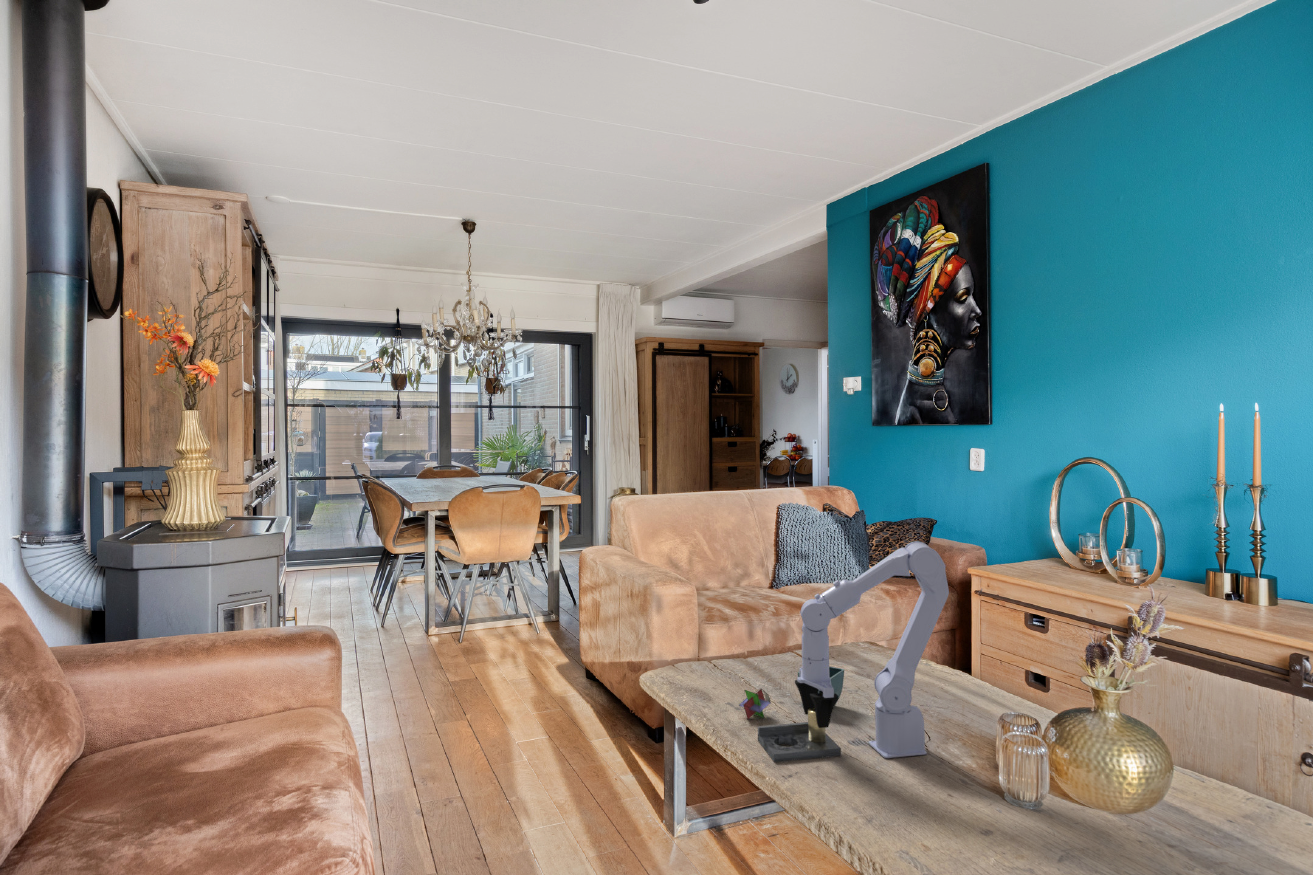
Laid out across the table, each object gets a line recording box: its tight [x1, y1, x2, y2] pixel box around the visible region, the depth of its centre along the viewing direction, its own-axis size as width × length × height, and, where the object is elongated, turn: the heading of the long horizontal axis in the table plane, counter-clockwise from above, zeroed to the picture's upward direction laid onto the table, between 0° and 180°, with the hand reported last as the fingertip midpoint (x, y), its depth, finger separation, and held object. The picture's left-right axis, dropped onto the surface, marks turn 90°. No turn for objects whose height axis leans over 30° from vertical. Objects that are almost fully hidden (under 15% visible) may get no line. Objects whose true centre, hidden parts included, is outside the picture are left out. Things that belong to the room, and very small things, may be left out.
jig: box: [757, 721, 842, 763], centre depth 159 cm, size 14×11×3 cm
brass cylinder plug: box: [807, 708, 827, 742], centre depth 159 cm, size 4×4×6 cm
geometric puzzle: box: [738, 688, 772, 720], centre depth 177 cm, size 7×7×8 cm
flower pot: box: [797, 666, 845, 706], centre depth 183 cm, size 9×9×9 cm
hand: (816, 720), depth 159 cm, fingers open, 7 cm apart
